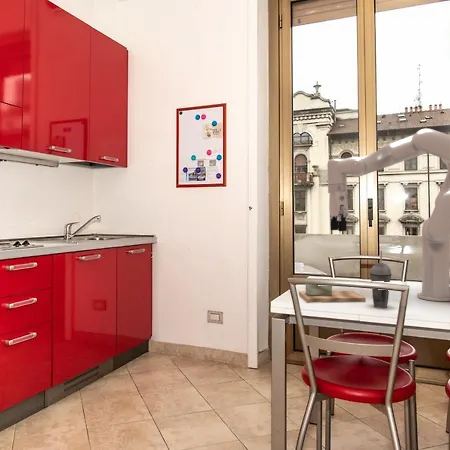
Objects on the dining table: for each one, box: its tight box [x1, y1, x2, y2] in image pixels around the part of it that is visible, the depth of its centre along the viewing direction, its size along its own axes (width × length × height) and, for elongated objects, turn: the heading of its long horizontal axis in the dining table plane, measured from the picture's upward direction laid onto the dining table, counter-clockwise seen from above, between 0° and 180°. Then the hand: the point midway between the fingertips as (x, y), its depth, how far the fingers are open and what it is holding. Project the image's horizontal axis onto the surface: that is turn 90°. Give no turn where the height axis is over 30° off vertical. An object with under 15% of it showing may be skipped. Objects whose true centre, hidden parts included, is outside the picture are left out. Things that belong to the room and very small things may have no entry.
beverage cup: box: [369, 250, 392, 309], centre depth 149 cm, size 7×7×20 cm
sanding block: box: [305, 284, 333, 296], centre depth 163 cm, size 9×5×6 cm, turn 93°
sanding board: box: [298, 290, 366, 304], centre depth 164 cm, size 22×14×2 cm, turn 92°
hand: (338, 230), depth 174 cm, fingers open, 9 cm apart
